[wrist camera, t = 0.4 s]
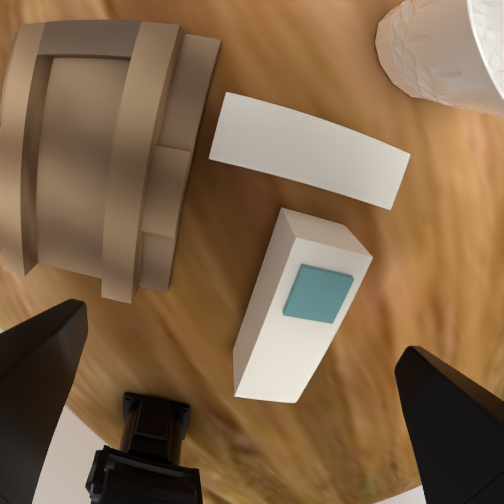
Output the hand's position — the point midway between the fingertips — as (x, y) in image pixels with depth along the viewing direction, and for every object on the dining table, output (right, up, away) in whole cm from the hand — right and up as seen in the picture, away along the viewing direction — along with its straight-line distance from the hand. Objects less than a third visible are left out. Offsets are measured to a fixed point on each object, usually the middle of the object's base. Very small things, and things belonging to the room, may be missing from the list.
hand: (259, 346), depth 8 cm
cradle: (-11, +8, +9) cm, 17 cm away
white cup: (+11, +15, +8) cm, 20 cm away
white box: (+2, -1, +15) cm, 15 cm away
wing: (+4, +9, +11) cm, 14 cm away
